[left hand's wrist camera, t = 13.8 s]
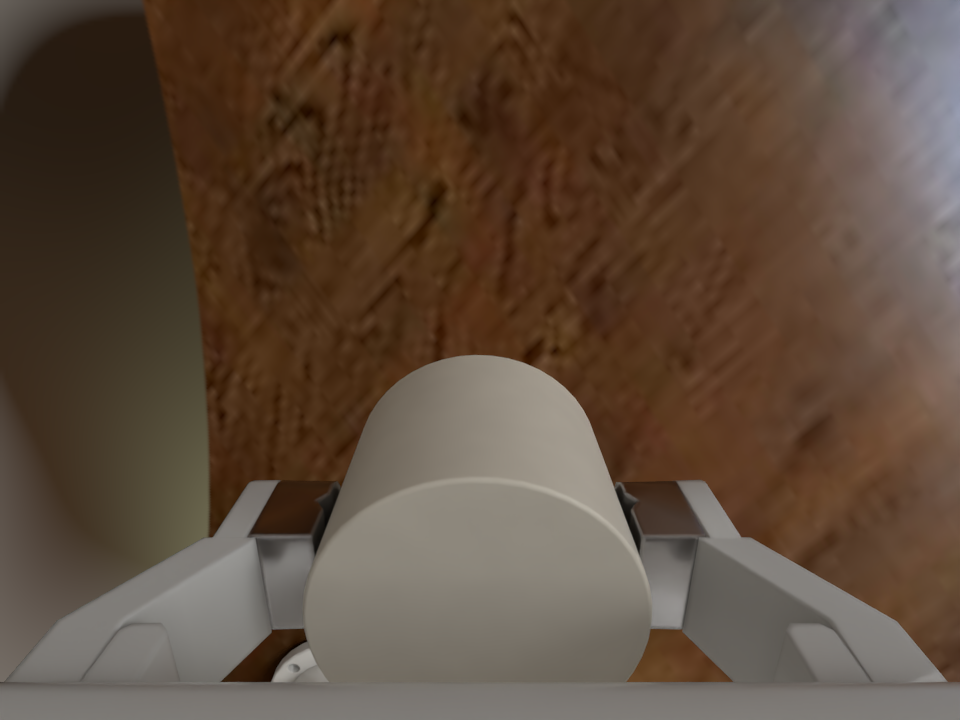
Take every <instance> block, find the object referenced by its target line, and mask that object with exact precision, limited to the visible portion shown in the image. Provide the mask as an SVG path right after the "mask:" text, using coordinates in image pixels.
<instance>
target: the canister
mask: <svg viewBox="0 0 960 720" xmlns="http://www.w3.org/2000/svg"><path fill="white" fill-rule="evenodd" d="M302 612H303V623H304V631H305V634H306V638H307V642H308V646H309V648H310V651H311V653H312V655H313V657H314V660H315V662H316V664H317V665H318V667H319V668H320V670H321V672H322V673H323V675H324V676H325V678H326V679H327V680H328V681H329V682H626V681H627V680H628V678H629V677H630V676H631V675H632V673H633V672H634V670H635V668H636V666H637V665H638V663H639V661H640V659H641V658H642V655H643V653H644V650H645V647H646V645H647V642H648V638H649V633H650V628H651V623H652V597H651V591H650V585H649V582H648V579H647V576H646V573H645V569H644V567H643V564H642V561H641V559H640V556H639V553H638V551H637V548H636V545H635V543H634V540H633V537H632V534H631V532H630V529H629V526H628V524H627V521H626V518H625V516H624V513H623V510H622V508H621V505H620V502H619V500H618V497H617V494H616V492H615V489H614V486H613V484H612V481H611V478H610V475H609V473H608V470H607V467H606V465H605V462H604V459H603V457H602V454H601V451H600V449H599V446H598V443H597V441H596V438H595V435H594V433H593V430H592V427H591V425H590V422H589V420H588V418H587V416H586V414H585V412H584V410H583V409H582V407H581V406H580V405H579V403H578V402H577V400H576V399H575V398H574V397H573V396H572V395H571V394H570V392H569V391H568V390H567V389H566V388H565V387H564V386H562V385H561V384H560V383H559V382H557V381H556V380H555V379H554V378H552V377H551V376H549V375H547V374H546V373H544V372H542V371H541V370H539V369H537V368H534V367H532V366H530V365H527V364H525V363H522V362H519V361H515V360H512V359H509V358H503V357H497V356H487V355H469V356H458V357H453V358H448V359H443V360H440V361H437V362H434V363H431V364H428V365H426V366H424V367H422V368H420V369H417V370H415V371H413V372H412V373H410V374H409V375H407V376H406V377H404V378H403V379H401V380H400V381H398V382H397V383H396V384H395V385H394V386H393V387H391V388H390V389H389V390H388V391H387V392H386V393H385V394H384V396H383V397H382V398H381V399H380V400H379V401H378V403H377V404H376V406H375V407H374V409H373V411H372V412H371V414H370V416H369V418H368V420H367V422H366V425H365V427H364V429H363V432H362V435H361V437H360V440H359V443H358V445H357V448H356V450H355V453H354V456H353V458H352V461H351V464H350V466H349V469H348V471H347V474H346V477H345V479H344V482H343V485H342V487H341V490H340V492H339V495H338V498H337V500H336V503H335V506H334V508H333V511H332V514H331V516H330V519H329V521H328V524H327V527H326V529H325V532H324V535H323V537H322V540H321V542H320V545H319V548H318V550H317V553H316V556H315V558H314V561H313V563H312V566H311V569H310V571H309V574H308V578H307V581H306V585H305V589H304V595H303V607H302Z"/></svg>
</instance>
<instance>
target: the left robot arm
mask: <svg viewBox="0 0 960 720" xmlns="http://www.w3.org/2000/svg"><path fill="white" fill-rule="evenodd" d="M614 489H615V492H616V494H617V497H618V500H619V502H620V505H621V508H622V510H623V513H624V516H625V518H626V521H627V524H628V526H629V529H630V532H631V534H632V537H633V540H634V543H635V545H636V548H637V551H638V553H639V556H640V559H641V561H642V564H643V567H644V569H645V573H646V576H647V579H648V582H649V585H650V591H651V597H652V623H651V628H652V629H683V633H684V634H685V635H686V636H687V637H688V638H690V639H691V640H692V641H693V642H694V643H695V644H696V645H697V646H698V647H699V648H700V649H701V650H702V651H703V652H704V653H705V654H706V655H707V656H708V657H709V658H710V659H711V660H712V661H713V662H714V663H715V664H716V665H717V666H718V667H719V668H720V669H721V670H722V671H723V672H724V673H725V674H726V675H727V676H728V677H729V678H730V679H732V680H733V681H734V682H221V681H222V680H223V679H224V678H225V677H226V676H227V675H228V674H229V673H230V672H231V671H232V670H233V669H234V668H235V667H236V666H237V665H238V664H239V663H240V662H241V661H242V660H243V659H244V658H245V657H247V656H248V655H249V654H250V653H251V652H252V651H253V650H254V649H255V648H256V647H257V646H258V645H259V644H260V643H261V642H262V641H263V640H264V639H265V638H266V637H267V636H268V635H269V634H270V633H271V632H272V631H271V629H301V628H304V623H303V612H302V607H303V595H304V589H305V585H306V581H307V578H308V574H309V571H310V569H311V566H312V563H313V561H314V558H315V556H316V553H317V550H318V548H319V545H320V542H321V540H322V537H323V535H324V532H325V529H326V527H327V524H328V521H329V519H330V516H331V514H332V511H333V508H334V506H335V503H336V500H337V498H338V495H339V492H340V490H341V488H340V485H339V483H338V482H337V481H291V480H283V481H280V480H254V481H252V482H249V483H248V484H247V486H246V487H245V489H244V490H243V492H242V494H241V495H240V497H239V498H238V500H237V501H236V503H235V504H234V506H233V507H232V509H231V510H230V512H229V513H228V515H227V516H226V518H225V519H224V521H223V523H222V524H221V526H220V527H219V529H218V530H217V532H216V533H215V535H214V536H213V538H202V539H201V540H199V541H197V542H195V543H193V544H192V545H190V546H188V547H186V548H185V549H183V550H181V551H179V552H177V553H176V554H174V555H172V556H170V557H169V558H167V559H165V560H163V561H162V562H160V563H158V564H156V565H155V566H153V567H151V568H149V569H147V570H146V571H144V572H142V573H140V574H139V575H137V576H135V577H133V578H132V579H130V580H128V581H126V582H124V583H123V584H121V585H119V586H117V587H116V588H114V589H112V590H110V591H109V592H107V593H105V594H103V595H101V596H100V597H98V598H96V599H94V600H93V601H91V602H89V603H87V604H85V605H84V606H82V607H80V608H78V609H77V610H75V611H73V612H71V613H70V614H68V615H66V616H64V617H62V618H61V619H59V620H57V621H56V622H55V623H54V625H53V626H52V627H51V628H50V629H49V630H48V631H47V633H46V634H45V635H44V636H43V637H42V638H41V640H40V641H39V642H38V643H37V644H36V645H35V647H34V648H33V649H32V650H31V651H30V652H29V654H28V655H27V656H26V657H25V658H24V659H23V661H22V662H21V663H20V664H19V665H18V666H17V667H16V669H15V670H14V671H13V672H12V673H11V675H10V676H9V677H8V678H7V679H6V680H5V681H4V682H0V720H960V682H947V681H946V679H945V678H944V677H943V676H942V675H941V673H940V672H939V671H938V670H937V669H936V667H935V666H934V665H933V664H932V663H931V662H930V660H929V659H928V658H927V657H926V656H925V654H924V653H923V652H922V651H921V650H920V648H919V647H918V646H917V645H916V644H915V642H914V641H913V640H912V639H911V638H910V637H909V635H908V634H907V633H906V632H905V631H904V629H903V628H902V627H901V626H900V625H899V623H898V622H897V621H895V620H893V619H892V618H890V617H888V616H886V615H885V614H883V613H881V612H879V611H878V610H876V609H874V608H872V607H871V606H869V605H867V604H865V603H864V602H862V601H860V600H858V599H857V598H855V597H853V596H851V595H850V594H848V593H846V592H844V591H843V590H841V589H839V588H837V587H836V586H834V585H832V584H830V583H829V582H827V581H825V580H823V579H822V578H820V577H818V576H816V575H815V574H813V573H811V572H809V571H808V570H806V569H804V568H802V567H801V566H799V565H797V564H795V563H794V562H792V561H790V560H788V559H787V558H785V557H783V556H781V555H780V554H778V553H776V552H774V551H773V550H771V549H769V548H767V547H766V546H764V545H762V544H760V543H759V542H757V541H755V540H753V539H752V538H741V536H740V535H739V533H738V532H737V530H736V528H735V527H734V525H733V524H732V522H731V521H730V519H729V518H728V516H727V515H726V513H725V512H724V510H723V508H722V507H721V505H720V504H719V502H718V501H717V499H716V498H715V496H714V495H713V493H712V492H711V490H710V488H709V487H708V485H707V484H706V482H704V481H702V480H680V481H655V482H616V485H615V488H614Z"/></svg>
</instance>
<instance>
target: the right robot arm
mask: <svg viewBox="0 0 960 720" xmlns="http://www.w3.org/2000/svg"><path fill="white" fill-rule="evenodd" d="M271 682H329V681H328V680H327V679H326V678H325V676H324V675H323V673H322V672H321V670H320V668H319V667H318V665H317V664H316V662H315V660H314V657H313V655H312V653H311V651H310V648H309V646H308V642H305V643H303V644H301V645H300V646H298V647H296V648H295V649H293V650H291V651H290V652H289V653H288V654H287V655H286V656H285V657H284V658H283V659H282V660H281V662H280V663H279V665H278V667H277V668H276V670H275V673H274V675H273V678H272V680H271Z"/></svg>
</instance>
